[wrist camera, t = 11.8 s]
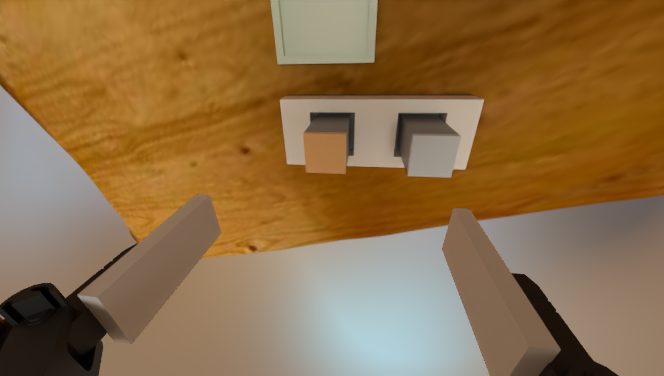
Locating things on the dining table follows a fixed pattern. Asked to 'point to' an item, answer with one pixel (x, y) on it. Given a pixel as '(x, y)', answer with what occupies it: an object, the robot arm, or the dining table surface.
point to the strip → (378, 123)
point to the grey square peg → (427, 145)
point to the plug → (327, 143)
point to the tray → (324, 31)
